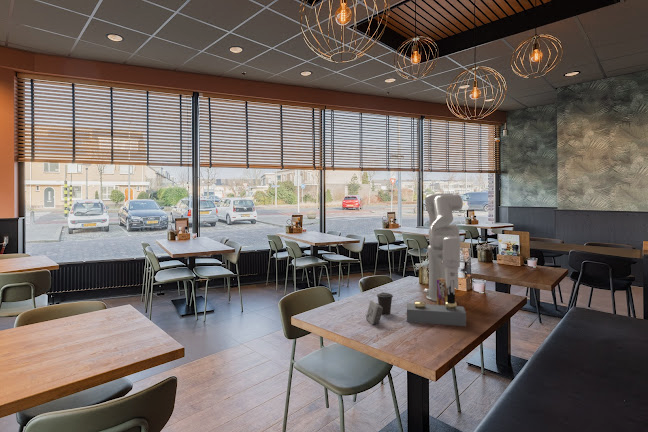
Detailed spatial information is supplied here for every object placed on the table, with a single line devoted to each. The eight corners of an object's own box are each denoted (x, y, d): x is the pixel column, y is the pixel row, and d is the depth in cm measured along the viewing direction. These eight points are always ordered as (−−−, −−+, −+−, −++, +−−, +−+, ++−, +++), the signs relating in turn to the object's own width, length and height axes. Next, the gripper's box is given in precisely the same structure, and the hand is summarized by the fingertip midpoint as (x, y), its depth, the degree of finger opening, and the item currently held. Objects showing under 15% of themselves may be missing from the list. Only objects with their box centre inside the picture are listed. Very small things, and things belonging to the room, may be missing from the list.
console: (406, 322, 168) (406, 309, 167) (407, 315, 177) (407, 303, 177) (466, 326, 161) (466, 313, 161) (463, 318, 171) (463, 306, 171)
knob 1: (414, 317, 169) (414, 303, 169) (414, 313, 174) (414, 300, 174) (425, 318, 168) (425, 304, 168) (425, 314, 173) (425, 301, 172)
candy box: (454, 311, 183) (454, 281, 182) (447, 312, 181) (447, 282, 181) (442, 306, 191) (443, 277, 190) (436, 307, 190) (436, 278, 189)
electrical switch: (365, 318, 173) (367, 299, 173) (375, 318, 174) (377, 300, 174) (371, 325, 164) (373, 305, 164) (382, 325, 165) (384, 305, 165)
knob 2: (445, 317, 166) (445, 303, 165) (444, 314, 171) (444, 300, 170) (457, 318, 165) (457, 304, 164) (455, 314, 169) (456, 301, 169)
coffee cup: (383, 309, 187) (383, 290, 186) (396, 313, 181) (396, 293, 180) (373, 313, 181) (373, 293, 180) (386, 317, 175) (386, 296, 175)
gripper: (461, 266, 158) (461, 307, 159) (457, 261, 172) (457, 298, 173) (444, 266, 160) (443, 306, 161) (441, 260, 174) (441, 298, 175)
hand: (451, 302), depth 167 cm, fingers closed
